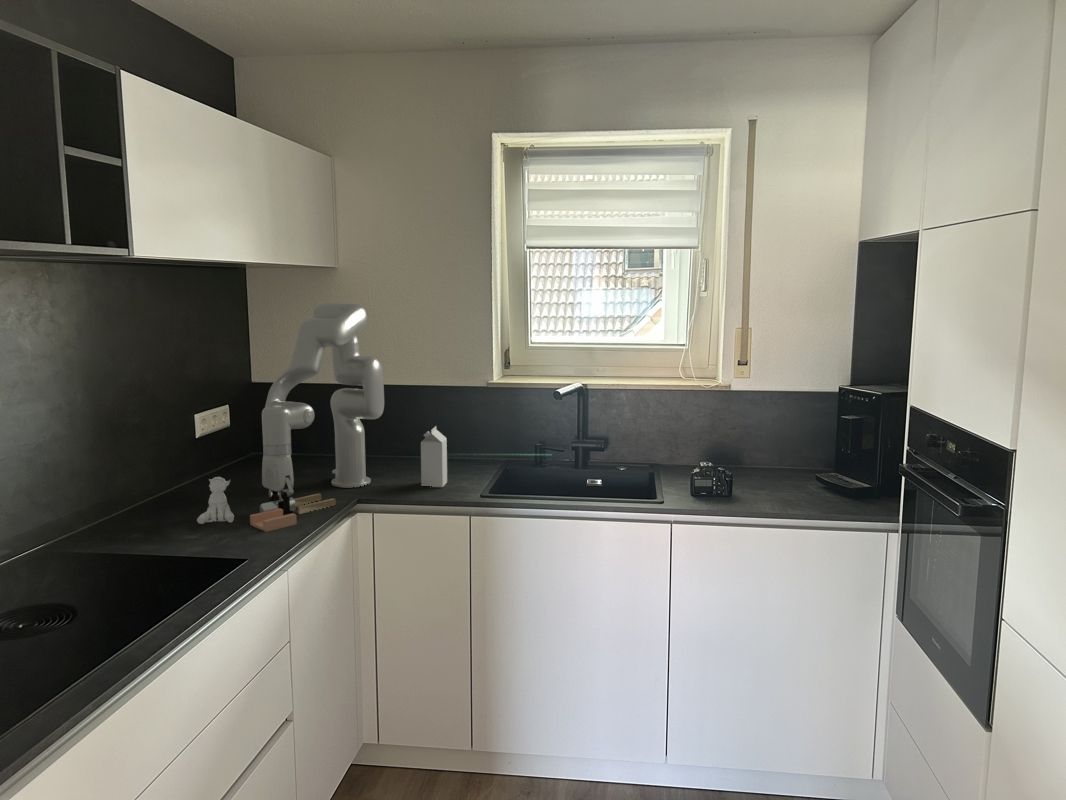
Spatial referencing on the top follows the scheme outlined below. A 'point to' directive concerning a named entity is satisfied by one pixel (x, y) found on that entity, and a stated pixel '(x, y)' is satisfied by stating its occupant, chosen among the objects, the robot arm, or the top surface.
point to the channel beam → (312, 506)
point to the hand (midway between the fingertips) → (280, 511)
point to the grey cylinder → (276, 506)
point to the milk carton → (434, 459)
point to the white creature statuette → (217, 503)
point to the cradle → (272, 520)
